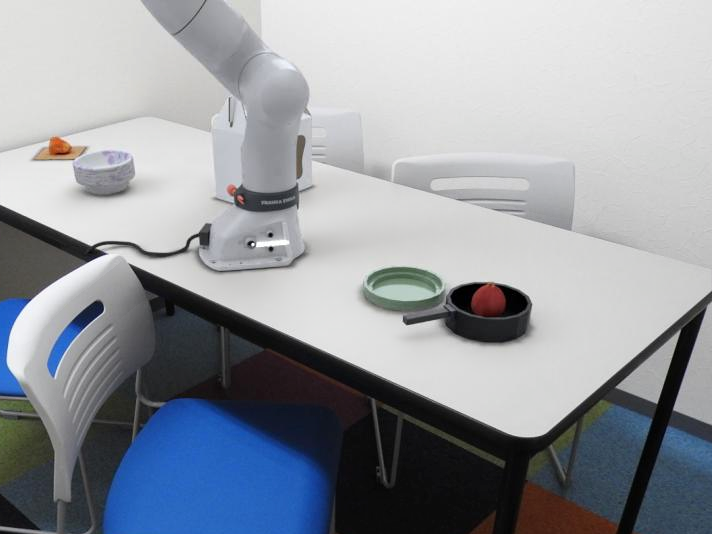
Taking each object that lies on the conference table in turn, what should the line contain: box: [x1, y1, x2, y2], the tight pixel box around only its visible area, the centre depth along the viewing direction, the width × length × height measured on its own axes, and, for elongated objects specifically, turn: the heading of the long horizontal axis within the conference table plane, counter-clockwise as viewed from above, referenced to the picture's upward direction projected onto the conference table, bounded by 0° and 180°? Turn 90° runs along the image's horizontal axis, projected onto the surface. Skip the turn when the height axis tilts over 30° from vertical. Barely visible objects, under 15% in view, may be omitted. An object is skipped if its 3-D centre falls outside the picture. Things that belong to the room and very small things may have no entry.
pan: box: [402, 281, 533, 344], centre depth 135 cm, size 23×14×4 cm, turn 109°
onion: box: [471, 280, 506, 318], centre depth 135 cm, size 6×6×8 cm
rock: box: [34, 136, 86, 161], centre depth 226 cm, size 12×12×4 cm
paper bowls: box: [72, 149, 136, 196], centre depth 198 cm, size 15×15×8 cm
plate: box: [362, 265, 447, 311], centre depth 147 cm, size 15×15×2 cm
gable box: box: [211, 94, 313, 204], centre depth 188 cm, size 22×13×28 cm, turn 139°
